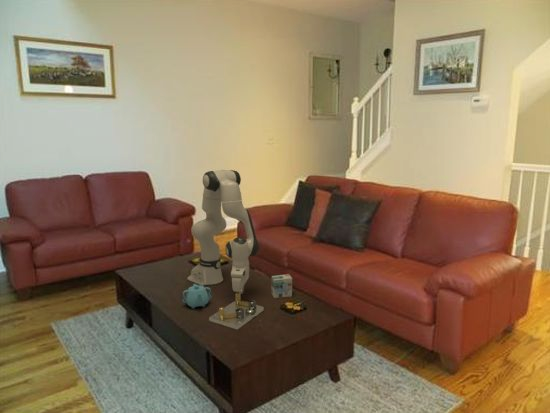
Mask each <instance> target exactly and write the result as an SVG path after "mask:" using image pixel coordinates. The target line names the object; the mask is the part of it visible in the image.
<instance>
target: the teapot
mask: <svg viewBox="0 0 550 413" xmlns="http://www.w3.org/2000/svg"><path fill="white" fill-rule="evenodd" d="M207 290H208V291H207ZM211 292H212V290H211V288H210V287H209V286H206V287H205V285H199V284H197V283H193V284H192V286H189V287H188V288H187V289H185V290H184V291H182V295H183V296H182V297H183V298H182V302H183V303H186V304H187V306H189V307H190V308H191V310H192V309H193V310H194V309H196V308H197V307H202V308H205V307H206V305H207V304H208V303H209V300H210V299H211V298H212V295H211ZM185 293H186V294H185Z"/></svg>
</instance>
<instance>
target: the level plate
mask: <svg viewBox="0 0 550 413" xmlns="http://www.w3.org/2000/svg"><path fill="white" fill-rule="evenodd" d="M238 308H242V309H244V316H243V317H241V318H238V317H232V318H226V319H223V320H220V319H219V310H218V311H216V312H215V313H214V314H212V315H210V316H209V318H208V321H209V322H210V323H211V322H212V323H215V324H218V325H221V326H224V327H228V328H230V329H234V330H237V331H238V330H240V328H242V327H243V326H244V325H246V324H247V323H249V322H250V321H251V320H252V319H254V318H256V317H257V316H259V314H261V313H262V312H264V308H265V306H261V305H258V304H256V308H254V309H250V308H249V307H248V306H244V305H240V304H236V300H235V301H232V302H231V303H229V304H228V305H226V306H225V307H224V314H230V313H236V309H238Z"/></svg>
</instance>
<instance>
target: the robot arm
mask: <svg viewBox="0 0 550 413" xmlns="http://www.w3.org/2000/svg"><path fill="white" fill-rule="evenodd" d="M241 182H242V178H241V175H240V173H239V172H238V171H236V170H233V169H219V170H214V171H213V170H209V171H207V172H205V173H204V174H203V177H202V184H203V187H204V188H203V192H202V193H203V194H202V203H201V209H202V210H203V212H205V215H206V216H205V217H206V218H205V219H201V220H198V221H197V222H195V223H193V224H192V226H191V227H190V228H191V229H190V231H191V236H192V237H193V238H194V239H195V240H197V242H198V244H199V248H200V256H201V257H200V258H199V259H197V262H199V263H198V264H197V265H195V267H193V268H192V269H191V272H190V275H188V277H187V278H186V279H187V280H188V281H190V282H191V283H193V284H196V285H201V286H207V285H209V286H210V285H216V284H220V283H221V282H223V281H224V277H223V274H222V268H221V263H222V261H221V256H220V254H221V253H220V251H221V250H220V245H219V244H218V242H215V239H214V238H215V237H214V236H216V235H217V236H218V234H221V233H222V232H223V231H225V230H226V228H227V220H226V219H225V217H223V215H222V212H223V214H224V215H226V217H229V218H231V219H234V220H239V221H241V222H242V224H243V225H244V229H245V233H246V236H247V238H245V237H241V236H240V237H239V236H238V237H235V238H233V239H232V240H230V241H228V242H227V243H226V244H225V256H227V257H228V258H229V259H231V260H232V264H231V265H232V266H231V271H230V277H231V283H232V284H231V285H232V286H231V287H232V291H233V292H235V293H237V292H239V293H240V295H241V294H244V291H245V290H244V289H245V284H246V283H247V281H248V279H249V278H250V261H249V258H250V257H251V258H252V257H254V258H255V256H256V255H257V254H259V252H260V245H259V241H258V239H257V235H256V232H255V229H254V224H253V220H252V218H251V215H250V212H249V210H248V209H246V208H245V207H244V205H243V199H242V192H241V188H240V185H241Z"/></svg>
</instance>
